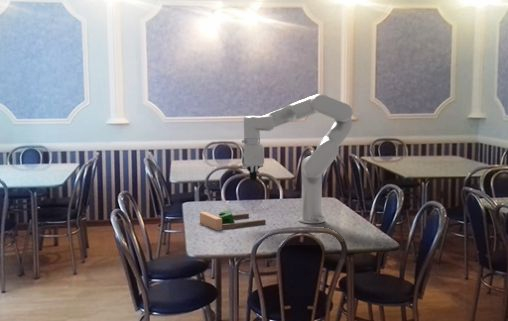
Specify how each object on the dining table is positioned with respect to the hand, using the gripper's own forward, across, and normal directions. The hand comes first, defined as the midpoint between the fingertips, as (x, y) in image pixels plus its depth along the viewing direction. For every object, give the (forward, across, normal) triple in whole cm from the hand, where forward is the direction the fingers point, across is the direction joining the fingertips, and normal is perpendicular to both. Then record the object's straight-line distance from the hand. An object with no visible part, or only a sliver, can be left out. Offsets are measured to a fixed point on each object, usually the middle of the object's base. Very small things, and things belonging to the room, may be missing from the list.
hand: (253, 180), depth 292 cm
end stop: (+20, -23, +1) cm, 30 cm away
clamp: (+20, -14, +1) cm, 25 cm away
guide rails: (+20, -10, +1) cm, 22 cm away
